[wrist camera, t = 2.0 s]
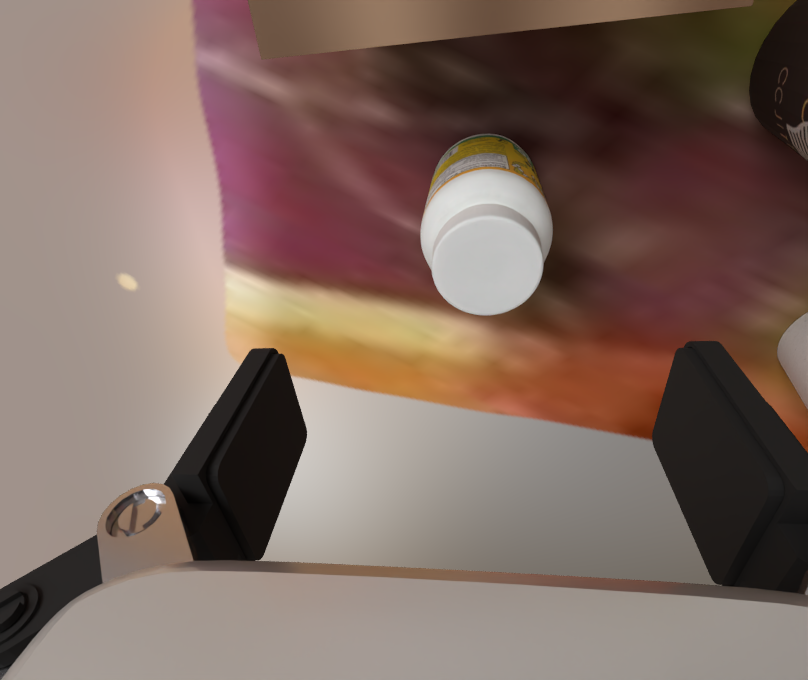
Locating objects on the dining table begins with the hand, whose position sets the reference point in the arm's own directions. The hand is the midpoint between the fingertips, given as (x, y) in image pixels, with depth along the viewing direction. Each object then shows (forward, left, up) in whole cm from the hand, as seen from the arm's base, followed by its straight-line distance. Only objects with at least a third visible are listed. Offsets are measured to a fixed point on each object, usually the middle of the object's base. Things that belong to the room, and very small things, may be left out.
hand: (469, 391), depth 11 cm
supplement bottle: (-1, 0, -16) cm, 16 cm away
